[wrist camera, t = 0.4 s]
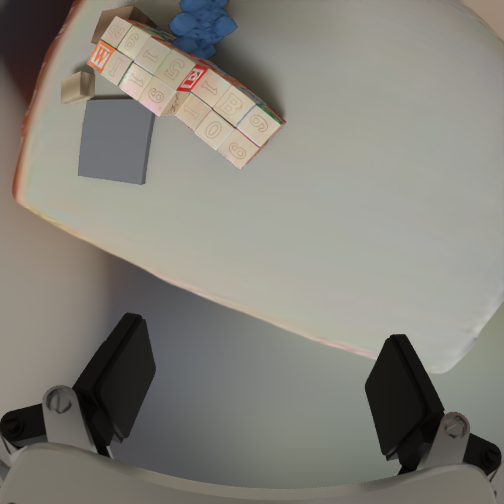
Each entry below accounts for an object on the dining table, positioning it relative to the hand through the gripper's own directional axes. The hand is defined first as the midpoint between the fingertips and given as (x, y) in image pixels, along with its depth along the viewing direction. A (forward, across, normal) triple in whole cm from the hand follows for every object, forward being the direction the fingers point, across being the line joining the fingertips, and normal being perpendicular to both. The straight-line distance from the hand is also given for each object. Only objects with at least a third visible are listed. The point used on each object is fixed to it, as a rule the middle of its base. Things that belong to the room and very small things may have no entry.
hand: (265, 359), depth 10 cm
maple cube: (+28, +30, -17) cm, 45 cm away
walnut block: (+28, +21, -24) cm, 43 cm away
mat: (+28, +23, -8) cm, 37 cm away
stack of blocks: (+28, +9, -15) cm, 33 cm away
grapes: (+28, +8, -23) cm, 37 cm away
